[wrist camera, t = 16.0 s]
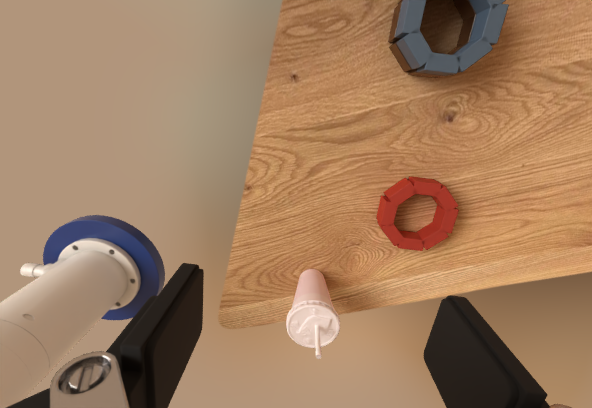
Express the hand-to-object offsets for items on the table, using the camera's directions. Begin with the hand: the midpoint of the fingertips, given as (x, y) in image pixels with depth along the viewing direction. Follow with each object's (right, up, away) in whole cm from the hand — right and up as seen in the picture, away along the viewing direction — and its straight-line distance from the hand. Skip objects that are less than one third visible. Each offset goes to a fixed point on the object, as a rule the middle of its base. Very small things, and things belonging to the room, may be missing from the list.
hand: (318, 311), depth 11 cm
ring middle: (+14, +22, +18) cm, 32 cm away
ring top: (+15, +3, +27) cm, 31 cm away
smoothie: (+1, -7, +32) cm, 33 cm away
